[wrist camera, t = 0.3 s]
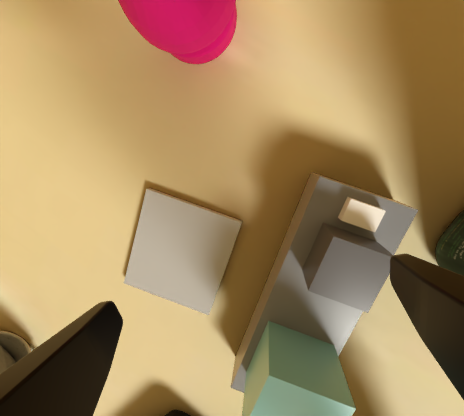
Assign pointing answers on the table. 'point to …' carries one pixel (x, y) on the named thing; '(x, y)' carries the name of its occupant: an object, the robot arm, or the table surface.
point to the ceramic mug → (11, 349)
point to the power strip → (292, 281)
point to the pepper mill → (184, 26)
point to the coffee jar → (452, 247)
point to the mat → (180, 250)
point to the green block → (295, 377)
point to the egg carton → (177, 413)
